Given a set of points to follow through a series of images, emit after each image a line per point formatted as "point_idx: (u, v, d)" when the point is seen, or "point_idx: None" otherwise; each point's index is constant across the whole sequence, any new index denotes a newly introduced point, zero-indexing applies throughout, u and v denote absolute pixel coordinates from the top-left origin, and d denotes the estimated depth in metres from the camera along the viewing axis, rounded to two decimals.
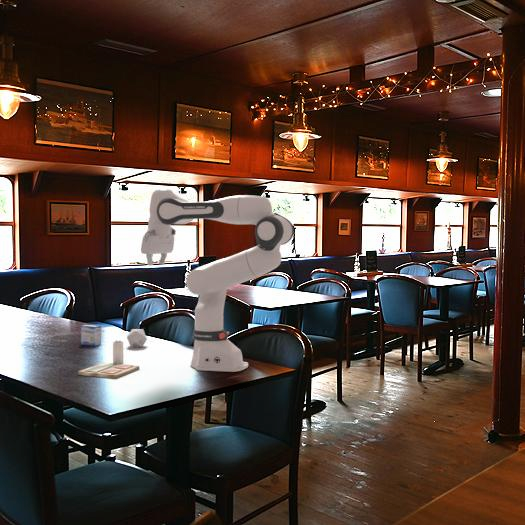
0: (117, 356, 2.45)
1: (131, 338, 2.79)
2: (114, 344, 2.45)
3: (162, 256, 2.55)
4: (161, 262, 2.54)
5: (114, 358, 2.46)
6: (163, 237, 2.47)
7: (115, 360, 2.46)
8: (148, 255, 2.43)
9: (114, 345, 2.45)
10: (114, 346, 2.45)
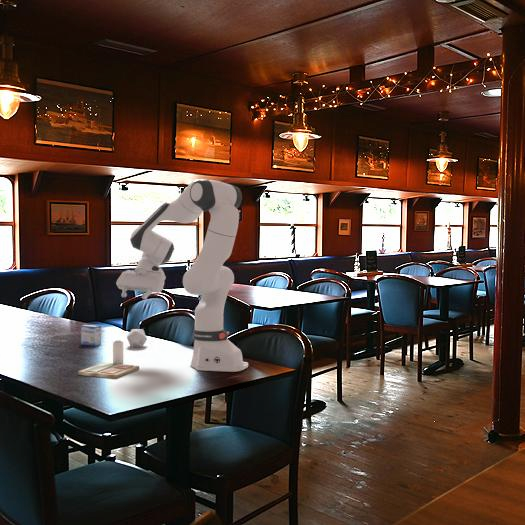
0: (117, 356, 2.45)
1: (131, 338, 2.78)
2: (114, 344, 2.45)
3: None
4: None
5: (114, 358, 2.46)
6: (138, 271, 2.63)
7: (115, 360, 2.46)
8: None
9: (114, 345, 2.45)
10: (114, 346, 2.45)
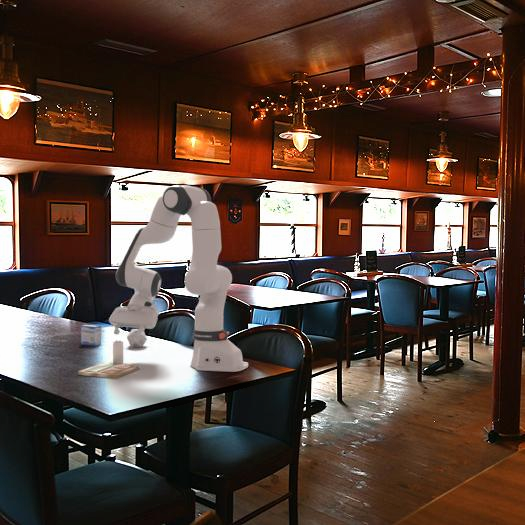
0: (117, 356, 2.45)
1: (131, 338, 2.79)
2: (114, 344, 2.45)
3: None
4: None
5: (114, 358, 2.46)
6: (131, 308, 2.58)
7: (115, 360, 2.46)
8: None
9: (114, 345, 2.45)
10: (114, 346, 2.45)
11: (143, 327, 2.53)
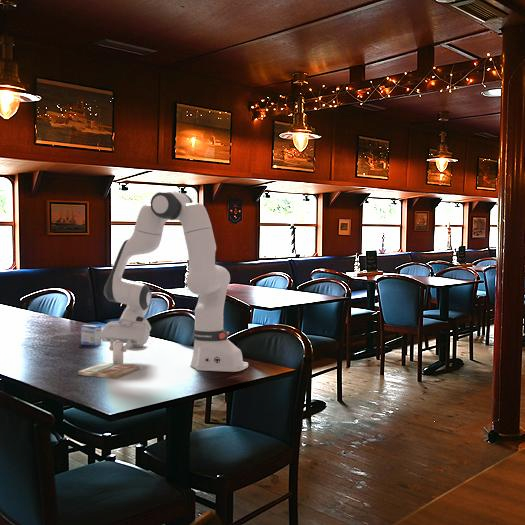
0: (117, 356, 2.45)
1: None
2: (114, 344, 2.45)
3: None
4: None
5: (114, 358, 2.46)
6: (122, 323, 2.52)
7: (115, 360, 2.46)
8: None
9: (114, 345, 2.45)
10: (114, 346, 2.45)
11: (130, 342, 2.47)
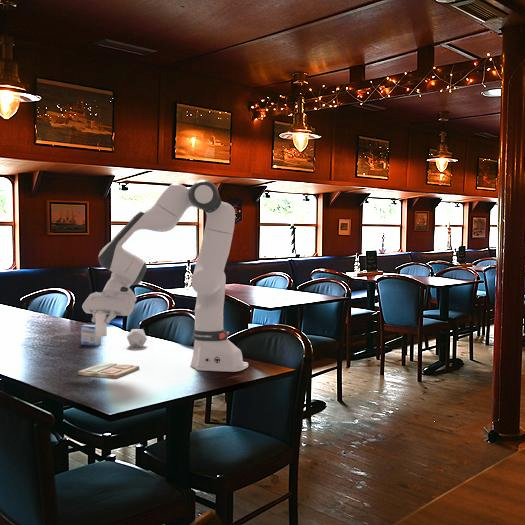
0: (100, 328, 2.31)
1: (131, 338, 2.79)
2: (97, 315, 2.31)
3: None
4: None
5: (97, 330, 2.31)
6: (106, 293, 2.38)
7: (98, 332, 2.31)
8: None
9: (97, 316, 2.31)
10: (97, 317, 2.31)
11: (114, 314, 2.33)
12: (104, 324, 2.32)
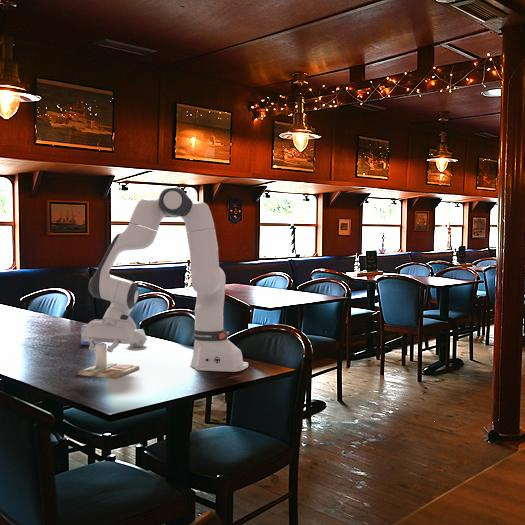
0: (100, 359, 2.31)
1: None
2: (96, 347, 2.32)
3: None
4: None
5: (97, 362, 2.32)
6: (106, 321, 2.38)
7: (98, 364, 2.32)
8: None
9: (96, 348, 2.32)
10: (96, 349, 2.32)
11: (117, 342, 2.33)
12: (104, 356, 2.32)
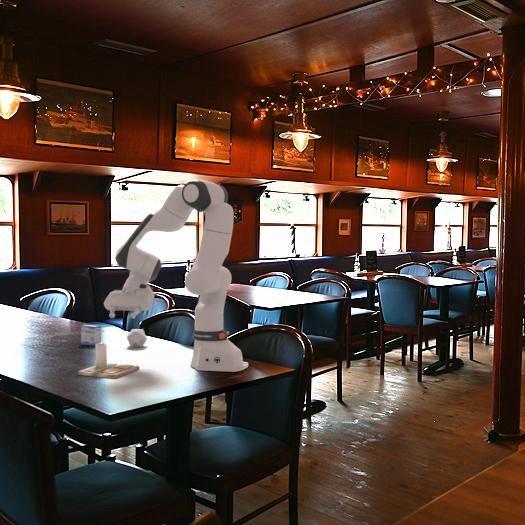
0: (100, 359, 2.32)
1: (131, 338, 2.79)
2: (97, 347, 2.32)
3: None
4: None
5: (97, 362, 2.32)
6: (126, 290, 2.54)
7: (98, 364, 2.32)
8: None
9: (97, 348, 2.32)
10: (97, 349, 2.32)
11: (139, 309, 2.49)
12: (104, 356, 2.32)
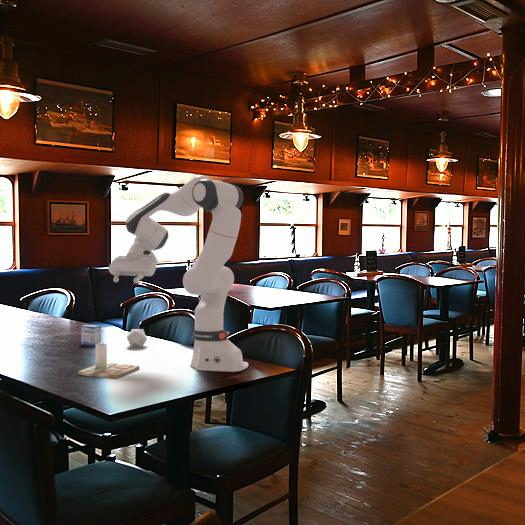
0: (100, 359, 2.32)
1: (131, 338, 2.79)
2: (97, 347, 2.32)
3: None
4: None
5: (97, 362, 2.32)
6: (130, 256, 2.62)
7: (98, 364, 2.32)
8: None
9: (97, 348, 2.32)
10: (97, 349, 2.32)
11: (142, 274, 2.57)
12: (104, 356, 2.32)
